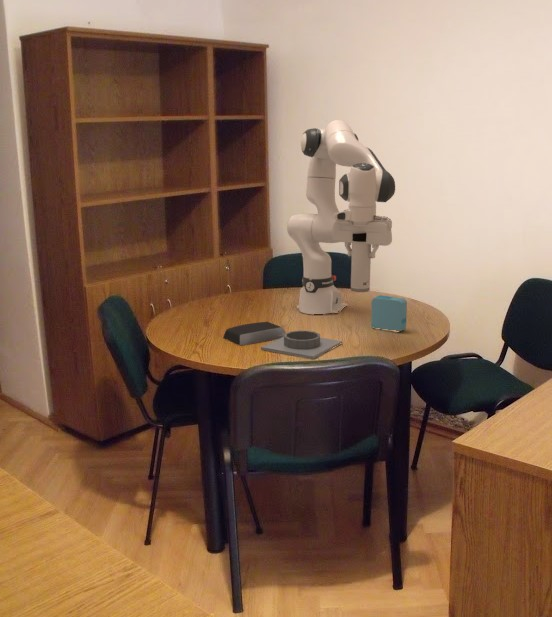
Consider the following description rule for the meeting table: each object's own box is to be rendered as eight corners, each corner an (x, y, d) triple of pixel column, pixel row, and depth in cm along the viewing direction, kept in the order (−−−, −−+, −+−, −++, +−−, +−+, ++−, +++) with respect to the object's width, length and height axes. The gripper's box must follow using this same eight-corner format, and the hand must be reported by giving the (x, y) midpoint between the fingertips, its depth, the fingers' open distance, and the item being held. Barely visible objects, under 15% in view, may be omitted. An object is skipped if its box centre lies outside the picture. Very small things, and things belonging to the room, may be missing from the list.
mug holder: (292, 335, 256) (292, 324, 255) (342, 343, 246) (342, 332, 245) (261, 349, 240) (260, 338, 239) (313, 359, 229) (313, 347, 228)
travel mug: (369, 292, 235) (371, 231, 230) (349, 291, 237) (351, 231, 232) (371, 288, 241) (373, 229, 236) (351, 287, 243) (353, 228, 238)
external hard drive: (288, 338, 255) (288, 327, 254) (241, 347, 244) (240, 335, 243) (268, 330, 265) (267, 319, 264) (222, 338, 255) (221, 327, 254)
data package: (406, 330, 262) (407, 298, 259) (400, 333, 258) (402, 301, 255) (376, 326, 268) (377, 294, 265) (370, 328, 265) (371, 297, 262)
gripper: (395, 215, 230) (394, 258, 233) (339, 212, 241) (338, 252, 244) (387, 217, 225) (386, 261, 228) (330, 214, 235) (329, 255, 239)
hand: (361, 257), depth 236 cm, fingers closed on travel mug, 6 cm apart
